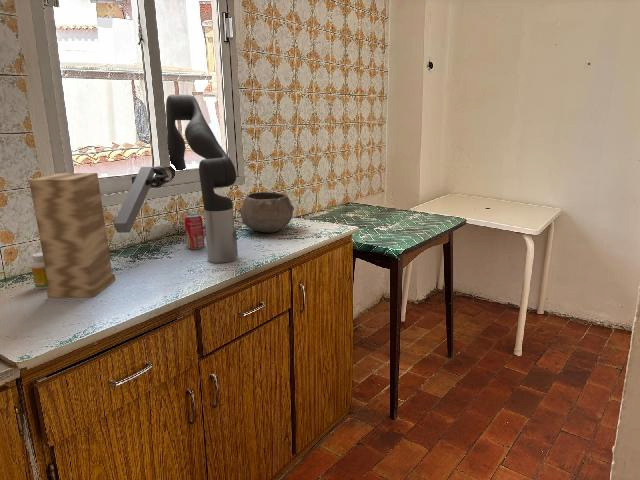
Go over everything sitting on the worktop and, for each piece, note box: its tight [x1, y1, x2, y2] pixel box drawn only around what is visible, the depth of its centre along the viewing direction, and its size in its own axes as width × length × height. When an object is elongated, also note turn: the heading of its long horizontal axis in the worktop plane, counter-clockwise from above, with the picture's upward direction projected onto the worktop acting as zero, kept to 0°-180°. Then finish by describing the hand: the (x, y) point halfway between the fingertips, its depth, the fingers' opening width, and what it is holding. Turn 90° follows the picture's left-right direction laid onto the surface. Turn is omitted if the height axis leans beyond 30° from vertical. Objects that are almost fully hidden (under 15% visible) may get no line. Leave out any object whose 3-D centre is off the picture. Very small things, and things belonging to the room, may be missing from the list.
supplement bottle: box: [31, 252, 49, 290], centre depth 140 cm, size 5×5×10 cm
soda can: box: [183, 213, 206, 250], centre depth 175 cm, size 6×6×12 cm
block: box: [112, 166, 155, 234], centre depth 166 cm, size 4×30×4 cm, turn 177°
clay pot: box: [238, 191, 295, 234], centre depth 194 cm, size 21×21×15 cm
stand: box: [28, 172, 116, 298], centre depth 134 cm, size 13×13×32 cm
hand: (140, 182), depth 170 cm, fingers closed on block, 4 cm apart
